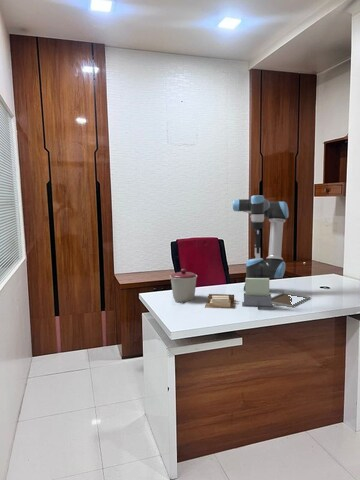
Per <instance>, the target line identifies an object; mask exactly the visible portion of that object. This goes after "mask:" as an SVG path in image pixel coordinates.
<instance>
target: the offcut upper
mask: <svg viewBox="0 0 360 480" xmlns="http://www.w3.org/2000/svg"><path fill="white" fill-rule="evenodd" d="M212 303H229V296H212Z"/></svg>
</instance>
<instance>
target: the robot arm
mask: <svg viewBox="0 0 360 480" xmlns="http://www.w3.org/2000/svg"><path fill="white" fill-rule="evenodd" d="M232 201H233V202H232V210H233V211H234V212H243V213H247V214H250V216H249V217H250V221H251V222H250V228H251V229H254V231H253V236H254V246H253V247H254V256H255V258H251V259H247V260H246V264H245V265H246V266H245V268H246V269H245V271H246V274H245V275H246V276H245V278H269V279H282V278H283V277H284V275H285V271H286V262H285V261H284V258H283V257H282V249H283V248H282V245H283V233H284V232H283V231H284V223H285V222H286V220H287V219H288V218H289V207H288V203H287V202H286V201H279V200H278V201H269V200H268V199H266V198H265V195H262V194H261V195H260V194H259V195H251V197H250V198H247V199H245V198H244V199H243V198H242V199H239V198H237V199H234V200H232ZM265 219H268V222H269V223H270V229H269V242H268V256H267V257H266V258H265V260H264V258H262V257H261V238H262V237H261V234H262V231H261V230H260V229H264V228H265V222H264V221H265ZM243 292H245V284H244V286H243Z"/></svg>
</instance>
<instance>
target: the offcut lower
mask: <svg viewBox="0 0 360 480" xmlns="http://www.w3.org/2000/svg"><path fill="white" fill-rule="evenodd" d="M230 305H231V300H229V303H212V299H211V301H210V307H230Z"/></svg>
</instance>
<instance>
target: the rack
mask: <svg viewBox="0 0 360 480" xmlns="http://www.w3.org/2000/svg"><path fill="white" fill-rule="evenodd" d="M212 296H229V300H231V305H230V307H210V301H211V299H212ZM236 304H237V300H236V299H235V294H231V293H230V294H228V293H227V294H226V293H225V294H224V293H223V294H222V293H220V294H218V293H209V294H208V295H207V301H206V303H205V305H204V309H227V310H230V309H231V310H233V309H234V310H235V309H236Z"/></svg>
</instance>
